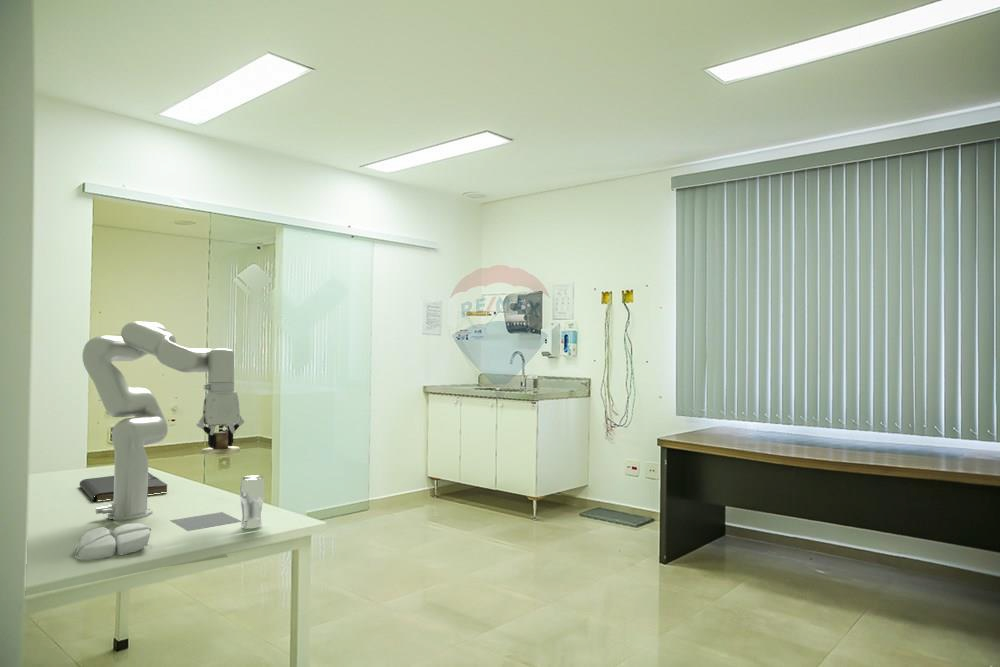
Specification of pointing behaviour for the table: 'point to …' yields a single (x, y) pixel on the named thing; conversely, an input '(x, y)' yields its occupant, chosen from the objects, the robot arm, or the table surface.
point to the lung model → (112, 541)
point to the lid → (221, 445)
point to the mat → (205, 521)
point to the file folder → (105, 486)
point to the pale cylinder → (251, 501)
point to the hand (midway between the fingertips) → (220, 446)
